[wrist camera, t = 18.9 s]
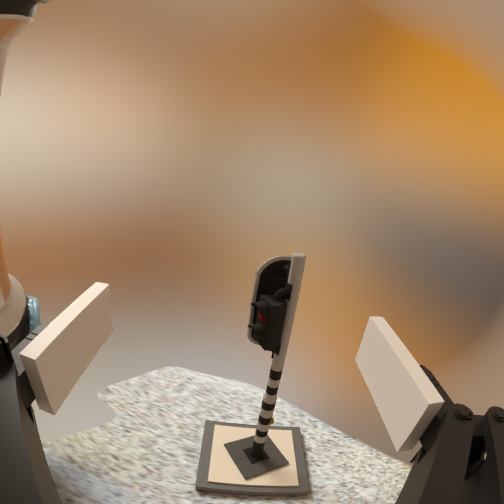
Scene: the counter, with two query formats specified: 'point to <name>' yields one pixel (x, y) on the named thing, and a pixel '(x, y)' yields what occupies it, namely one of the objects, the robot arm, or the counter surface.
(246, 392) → the counter surface
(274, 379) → the miniature traffic light
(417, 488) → the robot arm
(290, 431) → the plate
